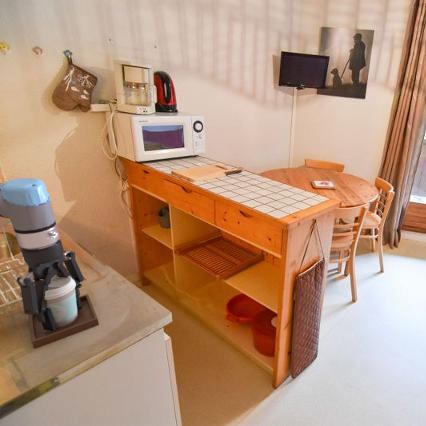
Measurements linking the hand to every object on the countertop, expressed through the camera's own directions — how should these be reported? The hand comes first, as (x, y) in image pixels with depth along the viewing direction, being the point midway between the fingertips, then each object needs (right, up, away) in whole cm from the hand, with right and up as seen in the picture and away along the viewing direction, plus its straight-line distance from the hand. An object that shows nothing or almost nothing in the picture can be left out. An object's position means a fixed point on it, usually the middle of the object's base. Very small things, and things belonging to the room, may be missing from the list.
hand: (63, 318), depth 85 cm
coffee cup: (0, -1, 0) cm, 1 cm away
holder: (0, -1, +1) cm, 1 cm away
